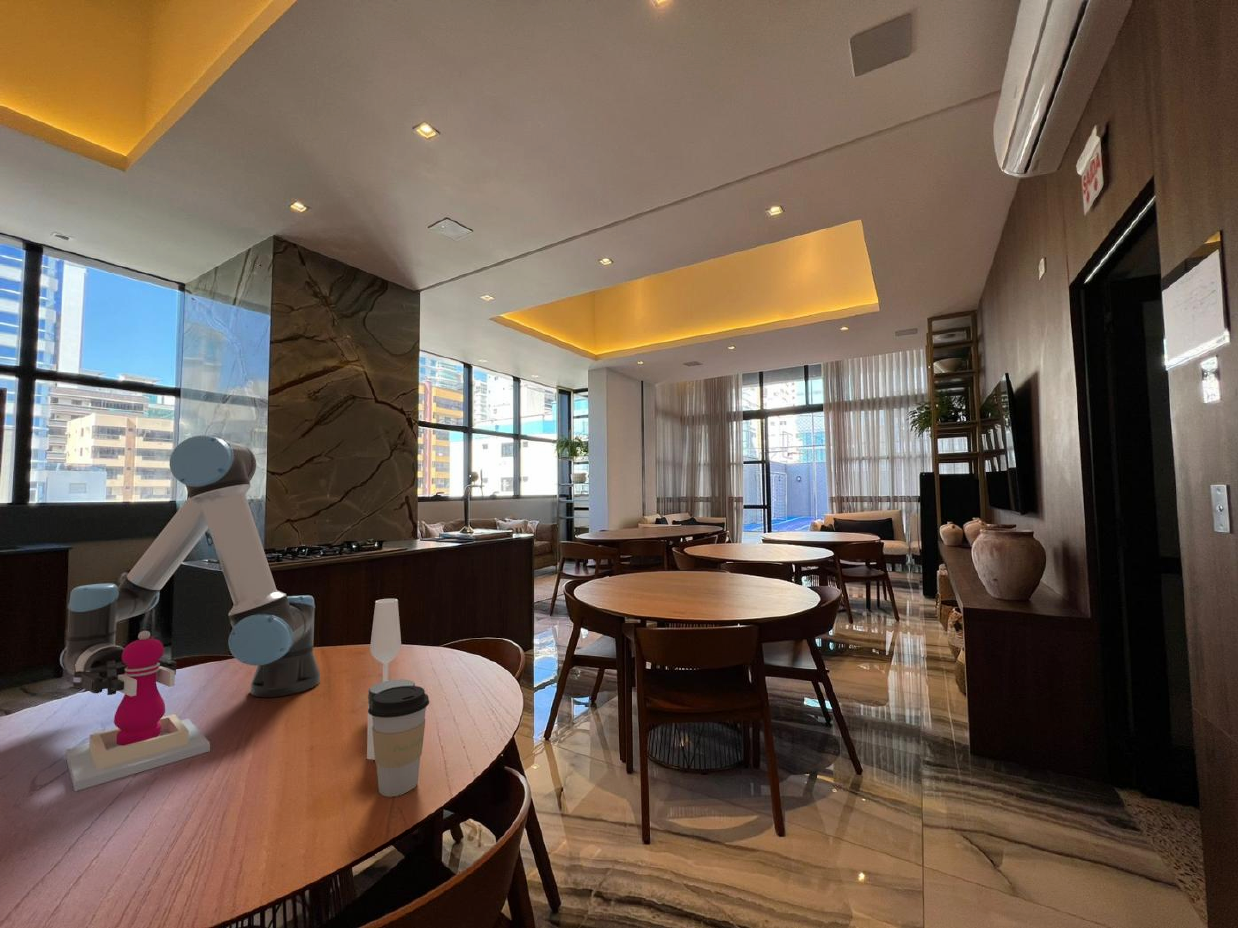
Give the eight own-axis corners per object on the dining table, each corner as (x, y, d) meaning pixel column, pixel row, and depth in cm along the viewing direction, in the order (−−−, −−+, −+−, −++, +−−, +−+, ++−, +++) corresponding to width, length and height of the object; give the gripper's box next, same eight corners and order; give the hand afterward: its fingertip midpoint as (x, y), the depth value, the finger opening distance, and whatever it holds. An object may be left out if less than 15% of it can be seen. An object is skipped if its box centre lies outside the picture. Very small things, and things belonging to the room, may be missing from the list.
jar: (402, 736, 106) (403, 675, 107) (424, 748, 101) (425, 684, 101) (357, 753, 99) (358, 688, 100) (377, 767, 94) (378, 698, 95)
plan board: (188, 725, 112) (188, 706, 113) (209, 750, 101) (210, 729, 101) (65, 757, 99) (67, 735, 99) (74, 791, 87) (76, 766, 87)
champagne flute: (362, 708, 120) (364, 602, 122) (385, 698, 127) (386, 597, 128) (384, 713, 118) (386, 604, 119) (406, 702, 124) (408, 598, 126)
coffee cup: (406, 805, 82) (408, 706, 83) (353, 799, 84) (355, 702, 85) (439, 774, 91) (440, 685, 92) (390, 769, 93) (391, 682, 94)
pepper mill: (173, 732, 102) (178, 627, 104) (128, 749, 95) (134, 636, 97) (148, 727, 105) (153, 625, 106) (103, 743, 98) (109, 633, 99)
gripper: (160, 670, 117) (209, 688, 105) (43, 697, 102) (85, 721, 90) (162, 636, 118) (211, 650, 106) (46, 657, 102) (88, 676, 91)
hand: (153, 683), depth 98 cm, fingers closed on pepper mill, 5 cm apart
